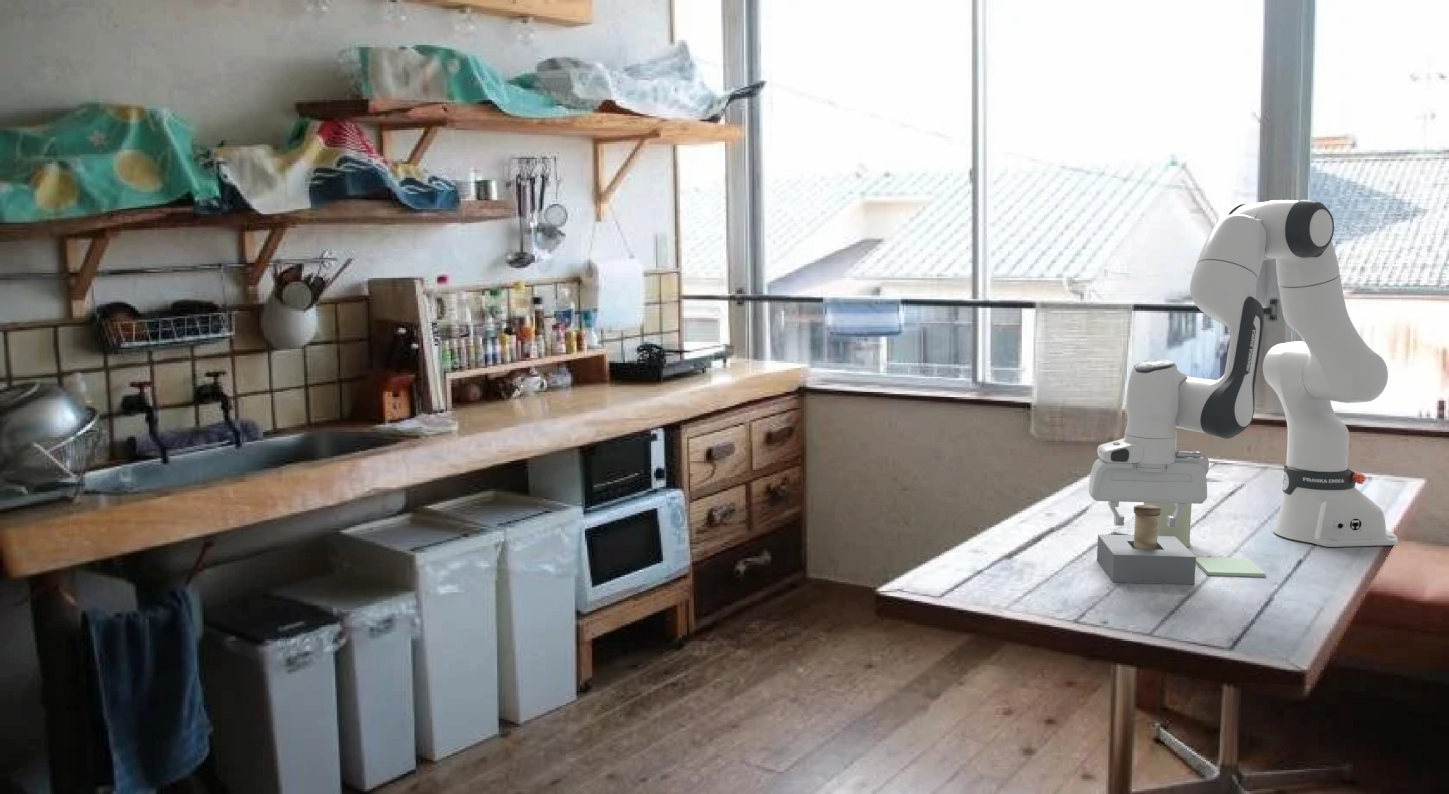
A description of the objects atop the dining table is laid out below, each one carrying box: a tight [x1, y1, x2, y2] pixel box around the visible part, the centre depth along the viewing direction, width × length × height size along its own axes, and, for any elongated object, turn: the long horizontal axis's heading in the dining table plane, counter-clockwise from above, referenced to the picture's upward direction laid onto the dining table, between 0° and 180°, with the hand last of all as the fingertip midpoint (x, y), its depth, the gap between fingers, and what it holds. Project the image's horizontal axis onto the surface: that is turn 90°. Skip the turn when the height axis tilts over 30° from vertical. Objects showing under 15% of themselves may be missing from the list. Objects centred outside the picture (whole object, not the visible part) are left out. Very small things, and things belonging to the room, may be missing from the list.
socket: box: [1096, 534, 1197, 585], centre depth 222 cm, size 14×14×5 cm
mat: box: [1196, 556, 1267, 578], centre depth 224 cm, size 10×10×1 cm
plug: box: [1133, 504, 1161, 549], centre depth 221 cm, size 5×5×12 cm
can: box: [1143, 502, 1193, 549], centre depth 241 cm, size 9×9×12 cm
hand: (1145, 525), depth 221 cm, fingers open, 8 cm apart
